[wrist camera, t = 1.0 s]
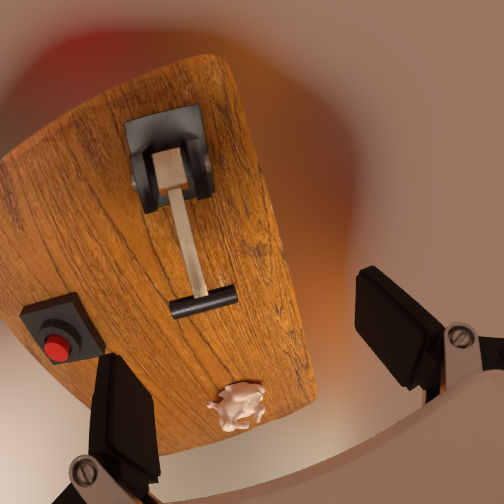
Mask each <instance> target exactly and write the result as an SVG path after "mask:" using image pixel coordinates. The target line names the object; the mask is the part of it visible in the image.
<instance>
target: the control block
mask: <svg viewBox="0 0 504 504" xmlns="http://www.w3.org/2000/svg"><path fill="white" fill-rule="evenodd" d="M19 316H20V318H21V319H22V321H23V323H24V324H25V326H26V327H27V329H28V330H29V332H30V333H31V335H32V336H33V338H34V339H35V341H36V342H37V343H38V345H39V346H40V348H41V349H42V350H43V352H44V353H45V350H44V347H45V344H46V341H47V338H48V336H50V335H52V334H56V335H60V336H62V337H63V338H65V339H66V340H67V341H68V342H69V344H70V351H69V355H68V358H67V360H65V361H63V362H58V361H55V360H53V359H51V358H50V357H49V356H48V355H47V354H46V353H45V355H46V356H47V357H48V359H49V360H50V361H51V362H52V364H53V365H56V364H62V363H68V362H73V361H79V360H85V359H90V358H95V357H100V356H101V355H105V348H106V345H105V343H104V342H103V340H102V338H101V337H100V335H99V334H98V332H97V330H96V329H95V327H94V325H93V323H92V322H91V320H90V318H89V316H88V315H87V313H86V311H85V309H84V307H83V305H82V304H81V302H80V300H79V298H78V296H77V294H76V292H75V293H72V294H68V295H64V296H61V297H57V298H54V299H50V300H46V301H43V302H39V303H36V304H32V305H29V306H25V307H24V308H23V310H22V312H21V313H20V315H19Z"/></svg>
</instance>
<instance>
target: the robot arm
mask: <svg viewBox="0 0 504 504" xmlns="http://www.w3.org/2000/svg"><path fill="white" fill-rule="evenodd" d="M355 328H356V331H357V332H358V333H359V334H360V336H361V337H362V338H363V339H364V341H365V342H366V343H367V344H368V346H369V347H370V348H371V349H372V350H373V352H374V353H375V354H376V355H377V357H378V358H379V359H380V360H381V361H382V363H383V364H384V365H385V366H386V368H387V369H388V370H389V371H390V373H391V374H392V375H393V376H394V378H395V379H396V380H397V381H398V383H399V384H400V385H401V386H402V387H405V386H406V387H407V388H408V390H409V391H411V390H412V389H414V388H415V387H417V386H418V385H420V387H421V388H422V389H423V399H422V407H421V408H420V409H418V410H416V411H415V412H414V413H412V414H410V415H409V416H407V417H406V418H404V419H402V420H401V421H399V422H398V423H396V424H394V425H393V426H391V427H389V428H388V429H386V430H384V431H382V432H381V433H379V434H377V435H375V436H374V437H372V438H370V439H368V440H366V441H364V442H363V443H360V444H359V445H357V446H355V447H353V448H351V449H349V450H347V451H344V452H342V453H340V454H338V455H336V456H334V457H332V458H329V459H327V460H325V461H322V462H320V463H318V464H315V465H313V466H310V467H308V468H306V469H303V470H300V471H297V472H295V473H292V474H289V475H286V476H284V477H280V478H277V479H274V480H271V481H268V482H265V483H261V484H258V485H255V486H252V487H247V488H244V489H240V490H236V491H232V492H227V493H223V494H218V495H213V496H208V497H203V498H197V499H191V500H185V501H178V502H171V503H162V502H161V501H160V500H158V499H157V498H156V497H155V496H154V495H152V494H151V493H150V492H149V486H148V484H153V483H159V482H158V476H160V474H161V470H160V463H159V455H158V447H157V438H156V428H155V417H154V403H153V399H152V396H151V394H150V393H149V392H148V391H147V389H146V388H145V387H144V386H143V385H142V383H141V382H140V381H139V379H138V378H137V377H136V376H135V374H134V373H133V372H132V370H131V369H130V368H129V366H128V365H127V364H126V362H125V361H124V360H123V358H122V357H121V356H120V355H116V354H115V353H109V354H105V355H101V356H100V357H99V361H98V368H97V375H96V382H95V391H94V394H93V397H92V405H91V416H90V430H89V451H88V455H81V456H78V457H77V458H75V459H74V460H73V461H72V463H71V465H70V468H69V477H70V480H71V483H70V484H69V485H68V486H67V488H66V489H65V490H64V491H63V492H62V493H61V494H60V495H59V496H58V497H57V498H56V500H55V501H54V502H53V503H52V504H504V338H493V337H480V336H478V335H477V333H476V331H475V330H474V328H472V327H471V326H470V325H468V324H466V323H461V322H455V323H452V324H450V325H449V326H447V327H446V328H445V327H443V325H442V324H441V323H440V322H439V321H438V320H437V319H436V318H434V317H433V316H432V315H431V314H430V313H429V312H428V311H427V310H426V309H424V308H423V307H422V306H421V305H420V304H419V303H418V302H416V301H415V300H414V299H413V298H412V297H411V296H410V295H408V294H407V293H406V292H405V291H404V290H403V289H401V288H400V287H399V286H398V285H397V284H396V283H394V282H393V281H392V280H391V279H390V278H388V277H387V276H386V275H385V274H383V273H382V272H381V271H380V270H379V269H378V268H376V267H375V266H369V267H367V268H365V269H362V270H360V271H359V275H357V277H356V301H355Z"/></svg>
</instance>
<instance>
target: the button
mask: <svg viewBox="0 0 504 504" xmlns="http://www.w3.org/2000/svg"><path fill="white" fill-rule="evenodd" d="M44 350H45V353H46V354H47V355H48V356H49V357H50V358H51V359H53V360H55V361H58V362H63V361H65V360H67V358H68V355H69V351H70V344H69V342H68V341H67V340H66V339H65V338H63V337H62V336H60V335H56V334H52V335H50V336H48V338H47V341H46V344H45V347H44Z"/></svg>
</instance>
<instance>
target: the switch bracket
mask: <svg viewBox="0 0 504 504" xmlns="http://www.w3.org/2000/svg"><path fill="white" fill-rule="evenodd" d="M124 127H125V132H126V136H127V141H128V145H129V150H130V154H131V155H130V156H129V158H130V162H131V166H132V170H133V173H131V175H130V178H131V183H132V187H133V189H134V191H138V193H139V196H140V200H141V204H142V207H143V210H144V214H148V213H152V212H155V211H157V209H158V207H161V206H165V205H168V204H170V203H169V198H168V194H167V195H162V194H161V193H160V191H159V190H158V187H157V182H156V177H155V172H154V167H153V162H152V156H151V155H152V154H154V153H158V152H162V151H166V150H169V149H173V148H178V147H180V148H181V152H182V156H183V161H184V165H185V170H186V174H187V179H188V184H189V189H186V190H182V191H183V196H184V200H187V199H191V198H195V197H197V198H198V200H201V199H205V198H209V197H211V194H212V193H215V187H214V182H213V176H212V171H211V163H210V159H209V155H208V150H207V145H206V139H205V134H204V128H203V123H202V117H201V112H200V106H199V104H195V105H190V106H185V107H181V108H176V109H172V110H168V111H164V112H160V113H156V114H152V115H148V116H144V117H141V118H137V119H134V120H131V121H127V122H124Z"/></svg>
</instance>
